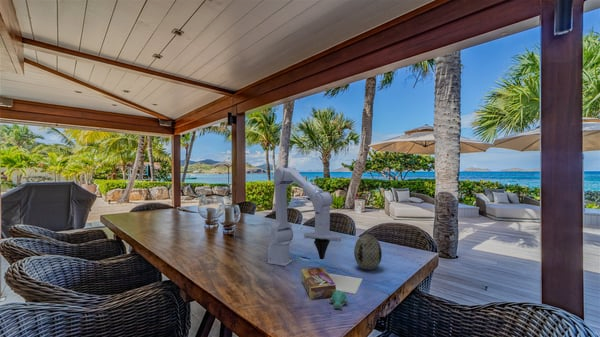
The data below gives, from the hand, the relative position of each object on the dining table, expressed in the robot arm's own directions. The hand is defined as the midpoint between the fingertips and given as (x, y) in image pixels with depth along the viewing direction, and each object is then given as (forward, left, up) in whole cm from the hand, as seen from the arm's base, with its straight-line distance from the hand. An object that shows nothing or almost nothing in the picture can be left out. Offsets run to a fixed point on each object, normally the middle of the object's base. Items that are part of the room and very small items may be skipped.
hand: (322, 258), depth 104 cm
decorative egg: (+14, +20, -9) cm, 26 cm away
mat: (+7, 0, -8) cm, 11 cm away
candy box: (-4, -1, -6) cm, 7 cm away
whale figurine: (+11, -16, -9) cm, 21 cm away
